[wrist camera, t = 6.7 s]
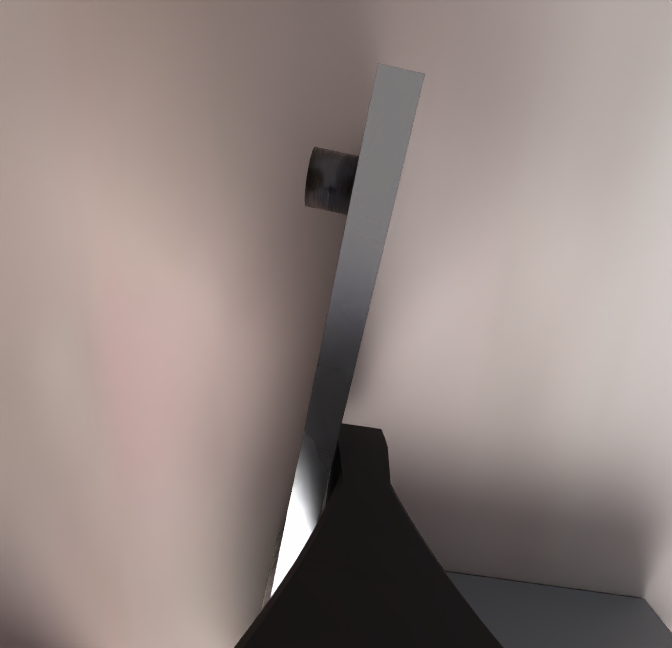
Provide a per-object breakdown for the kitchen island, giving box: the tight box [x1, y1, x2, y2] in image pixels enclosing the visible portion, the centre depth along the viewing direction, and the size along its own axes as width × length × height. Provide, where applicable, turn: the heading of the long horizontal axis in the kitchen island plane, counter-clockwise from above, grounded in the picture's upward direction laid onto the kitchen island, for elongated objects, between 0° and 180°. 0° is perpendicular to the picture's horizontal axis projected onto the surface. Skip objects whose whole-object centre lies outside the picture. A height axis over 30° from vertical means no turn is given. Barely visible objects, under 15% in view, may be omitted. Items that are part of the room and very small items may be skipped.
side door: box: [261, 63, 425, 611], centre depth 8 cm, size 13×2×4 cm, turn 169°
